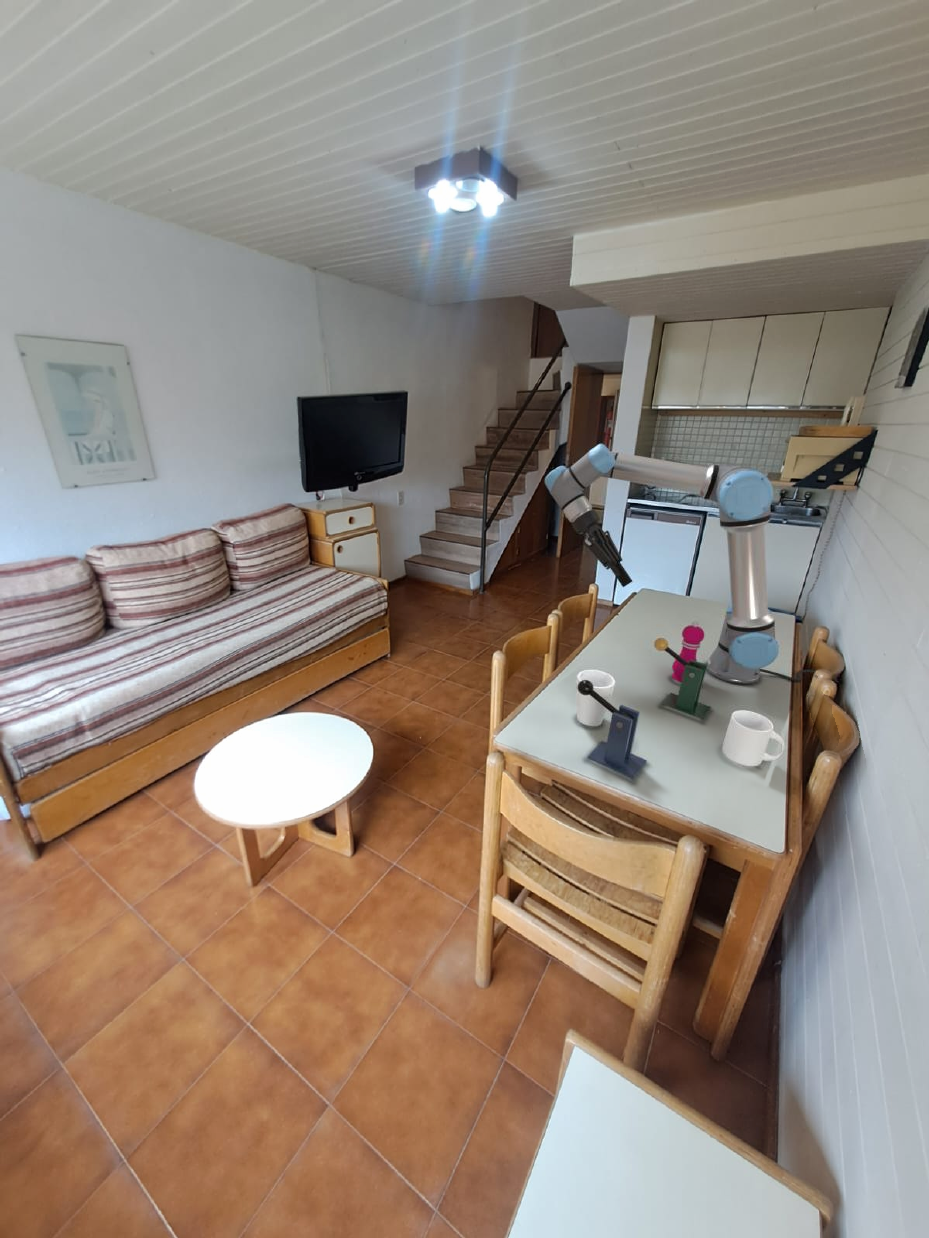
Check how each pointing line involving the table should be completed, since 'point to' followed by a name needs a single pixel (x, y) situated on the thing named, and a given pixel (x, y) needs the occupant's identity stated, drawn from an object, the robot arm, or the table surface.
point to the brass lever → (671, 651)
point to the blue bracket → (620, 745)
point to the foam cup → (587, 706)
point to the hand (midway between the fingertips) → (627, 584)
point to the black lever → (598, 697)
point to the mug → (749, 738)
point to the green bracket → (690, 692)
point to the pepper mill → (688, 648)
